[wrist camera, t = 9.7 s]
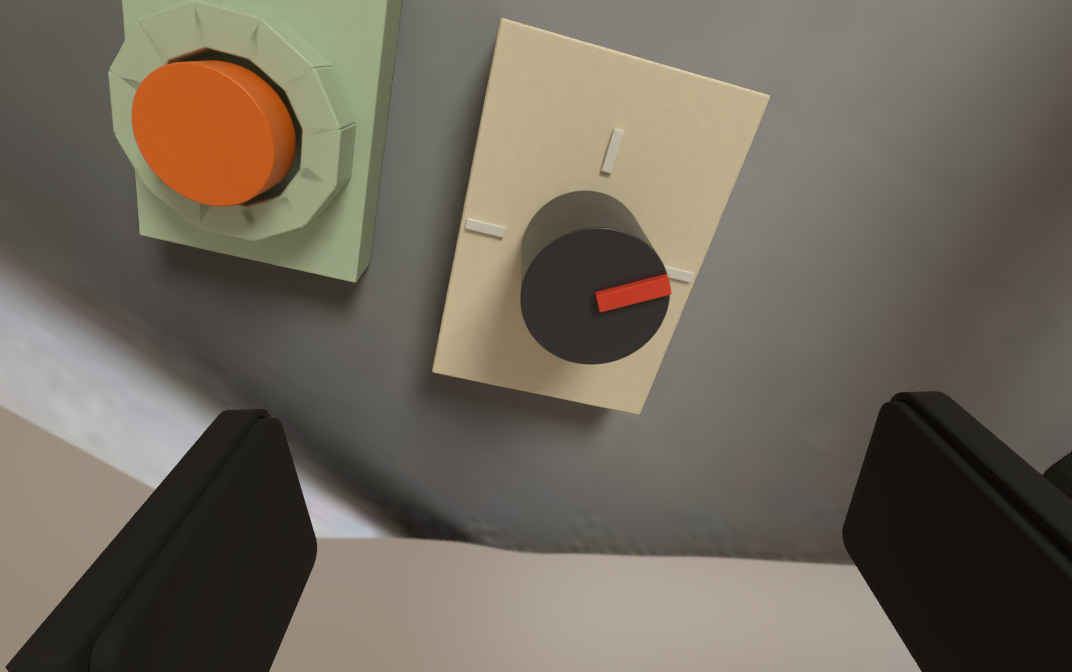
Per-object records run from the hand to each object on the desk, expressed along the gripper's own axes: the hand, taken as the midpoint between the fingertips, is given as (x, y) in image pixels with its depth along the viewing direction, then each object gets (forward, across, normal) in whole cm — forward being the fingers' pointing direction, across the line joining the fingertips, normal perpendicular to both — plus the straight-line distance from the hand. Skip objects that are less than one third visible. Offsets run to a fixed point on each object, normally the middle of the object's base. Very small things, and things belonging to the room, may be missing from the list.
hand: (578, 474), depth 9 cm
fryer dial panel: (+16, -1, +1) cm, 16 cm away
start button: (+12, +10, -4) cm, 16 cm away
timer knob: (+13, -1, +1) cm, 13 cm away
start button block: (+16, +10, -4) cm, 19 cm away
